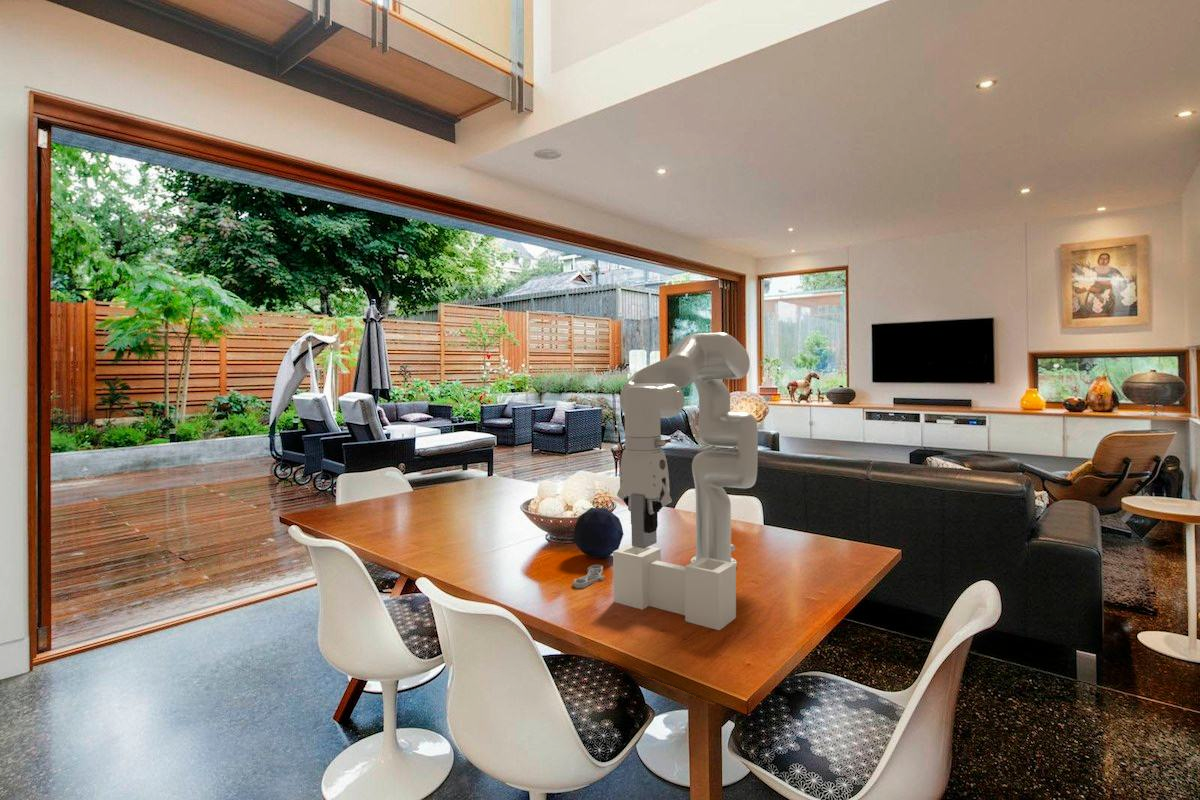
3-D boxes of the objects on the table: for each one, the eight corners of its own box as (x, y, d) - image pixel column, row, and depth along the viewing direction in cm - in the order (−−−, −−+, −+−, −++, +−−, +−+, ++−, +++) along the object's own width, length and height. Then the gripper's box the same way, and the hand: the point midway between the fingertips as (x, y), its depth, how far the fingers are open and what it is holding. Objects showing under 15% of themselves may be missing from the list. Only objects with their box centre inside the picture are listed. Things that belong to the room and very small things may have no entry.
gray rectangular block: (644, 540, 131) (644, 490, 130) (656, 542, 129) (655, 491, 129) (631, 546, 127) (630, 494, 127) (643, 548, 125) (642, 496, 125)
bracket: (560, 578, 154) (595, 562, 166) (560, 586, 154) (595, 569, 166) (583, 584, 149) (617, 567, 161) (583, 592, 149) (617, 574, 161)
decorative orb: (622, 529, 186) (593, 492, 183) (640, 541, 172) (609, 502, 169) (587, 560, 183) (557, 524, 180) (602, 576, 169) (570, 537, 166)
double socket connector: (633, 591, 147) (632, 543, 147) (736, 617, 131) (735, 563, 130) (613, 601, 141) (613, 551, 140) (719, 630, 125) (719, 573, 124)
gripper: (685, 444, 125) (686, 532, 126) (621, 440, 135) (622, 521, 136) (667, 448, 119) (668, 540, 120) (601, 443, 129) (602, 528, 130)
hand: (644, 529), depth 128 cm, fingers closed on gray rectangular block, 3 cm apart
